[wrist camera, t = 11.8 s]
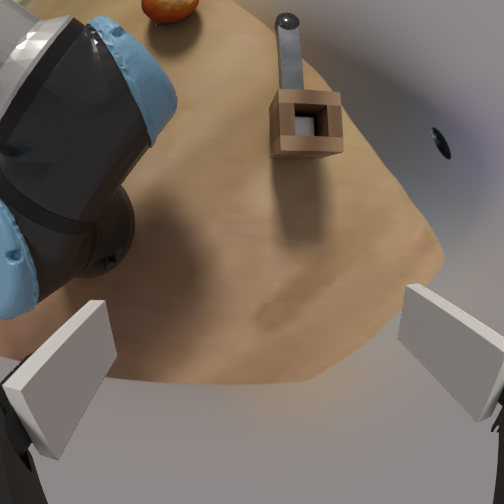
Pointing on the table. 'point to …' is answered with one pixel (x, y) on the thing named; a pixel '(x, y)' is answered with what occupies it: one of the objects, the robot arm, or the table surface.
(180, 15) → the fruit
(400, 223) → the table surface
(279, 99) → the socket collar
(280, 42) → the grey lever handle
